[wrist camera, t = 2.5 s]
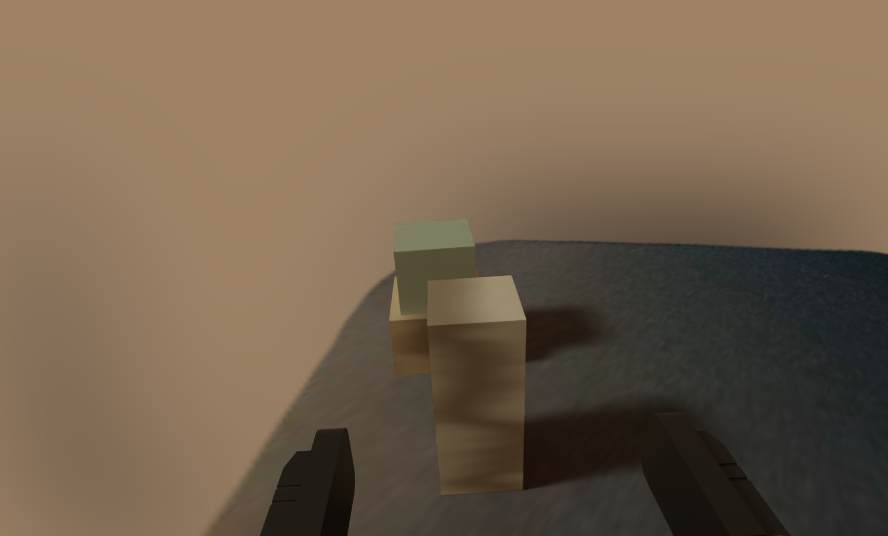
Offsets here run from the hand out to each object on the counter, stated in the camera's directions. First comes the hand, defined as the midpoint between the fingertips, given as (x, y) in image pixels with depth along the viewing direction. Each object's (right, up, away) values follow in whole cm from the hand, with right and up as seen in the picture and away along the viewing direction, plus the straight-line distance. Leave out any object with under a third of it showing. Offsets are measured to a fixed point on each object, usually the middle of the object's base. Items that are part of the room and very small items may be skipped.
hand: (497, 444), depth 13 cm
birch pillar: (+1, -7, +16) cm, 17 cm away
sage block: (-2, +3, +25) cm, 25 cm away
